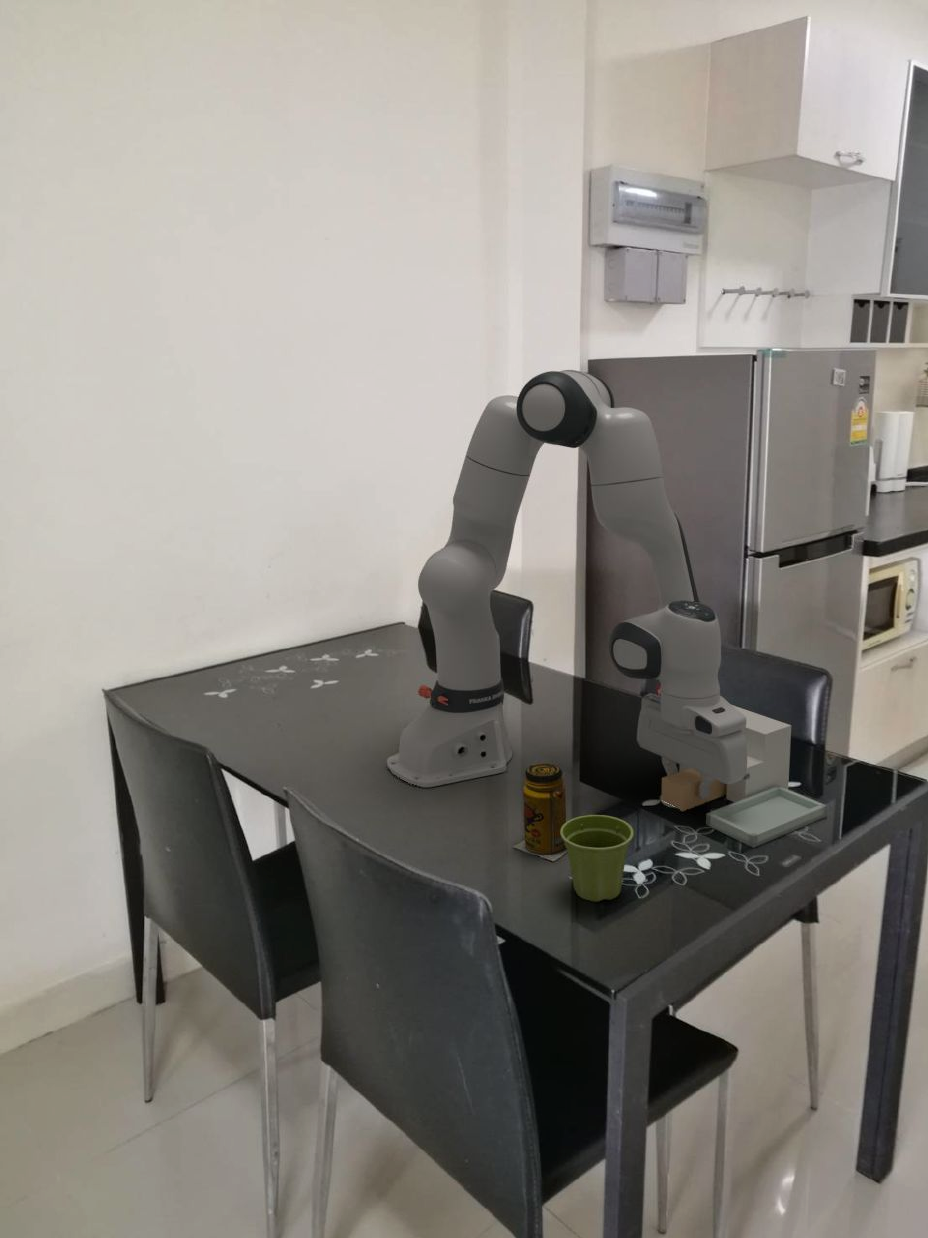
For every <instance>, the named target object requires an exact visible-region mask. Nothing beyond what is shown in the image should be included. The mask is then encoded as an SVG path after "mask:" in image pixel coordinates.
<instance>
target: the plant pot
mask: <svg viewBox="0 0 928 1238" xmlns="http://www.w3.org/2000/svg"><path fill="white" fill-rule="evenodd" d="M634 833H635V832H634V828H633V827H632V826H631V825H630V824H629V823H628V822H626V821H625V820H623V819H621V818H618V817H615V816H610V815H604V814H601V815H600V814H588V815H581V816H577V817H573V818H572V819H569V820H566V823H565V824H564V825H563V826H562V828H561V830H560V834H561V837H562V839H563V840H564V843H565V846H566V848H567V851H568V852H567V855H568V862H569V866H570V872H571V878H572V884H573V888H574V889H573V890H574V891H575V892H576V895H577V896H578V897H580V898H581V899H583V900H586V901H590V902H601V901H603V900H609V901H610V900H614V899H615V898H616V897H618V896H619V895H620V894H621V890H622V886H623V885H622V884H623V878H624V871H625V864H626V857H627V852H628V849H629V847H630V842H631V841H632V840H633V839H634Z"/></svg>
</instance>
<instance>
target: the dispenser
mask: <svg viewBox="0 0 928 1238" xmlns="http://www.w3.org/2000/svg"><path fill="white" fill-rule="evenodd" d="M731 705H732V706H733V707H734V708H736V709H737V710H738V711H740V712H741V713H742V714H743V715H744V716H745V717H746V727H745V728H743V729H741V731H742V732H743V734H744V735H745V738H746V742H747V772H746V775H745V776H744V778H743V779H741V780H740V781H737V782H735V783H732V784H727V795H725V797H726V800H729V801H731V802H732V803H735V802H738V801H740V800H743V799H745V798H748V797H751V796H753V795H756V794H758V793H761V792H763V791H766V790H769V789H771V788H774V787H776V786H781V787H783V788H785V789H788V790H789V776H790V758H791V741H792V739H791V735H792V725H791V724H788V723H785V722H782V721H779V720H777V719H773V718H771V717H768V716H765V715H762V714H759V713H756V712H755V711H754V712H753V711H750V710H747V709H744V708H742V707H738V706H736V705H733V704H731ZM678 767H679V769H678V772H680V771H683V770H686V769H689V768H688V767H685V766H683V765H681V764H678Z"/></svg>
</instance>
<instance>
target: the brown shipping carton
mask: <svg viewBox="0 0 928 1238" xmlns="http://www.w3.org/2000/svg"><path fill="white" fill-rule="evenodd" d="M702 781H703V779H701V778H700V773H699V772H697V771H695V770H692V769H690V768H689V769H686V770H683V771H680V772H679V771H678V772H677V773H674V774H672V775H669V776H667V775H666V776H664V777H661V801H662V800H663V801H665V802H667V803H669V804H671V805H673V806H675V807H677V808H678V809H680V810H679V811H681V812H685V811H688V810H689V809H690V810H691V809H693V808H696V807H697V806H701V805H704V804H705V802H706V803H709V802H710V801H713V800H716V799H719V798H722V797H724V796H726V795H727V784H725V783H722V782H720V781H718V780H715V781H714V782H713V784H712V785H711V786H710V795H709V797H708V798H705V799H702V798H700V797H698V796H696V795H695V792H696V791H695V786H697V785H700V784H701V783H702ZM695 806H696V807H695ZM678 809H677V810H678ZM687 809H688V810H687Z"/></svg>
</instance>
